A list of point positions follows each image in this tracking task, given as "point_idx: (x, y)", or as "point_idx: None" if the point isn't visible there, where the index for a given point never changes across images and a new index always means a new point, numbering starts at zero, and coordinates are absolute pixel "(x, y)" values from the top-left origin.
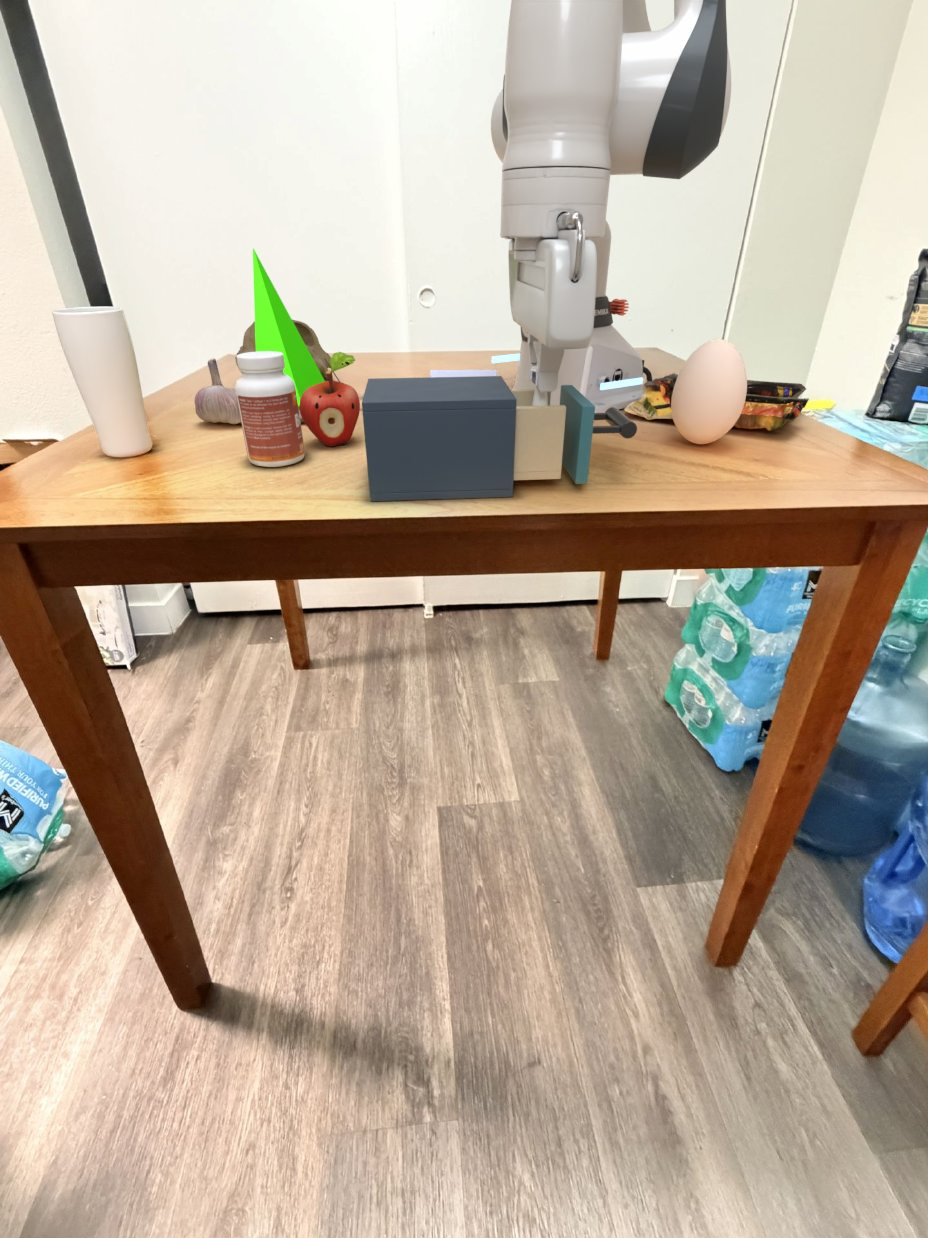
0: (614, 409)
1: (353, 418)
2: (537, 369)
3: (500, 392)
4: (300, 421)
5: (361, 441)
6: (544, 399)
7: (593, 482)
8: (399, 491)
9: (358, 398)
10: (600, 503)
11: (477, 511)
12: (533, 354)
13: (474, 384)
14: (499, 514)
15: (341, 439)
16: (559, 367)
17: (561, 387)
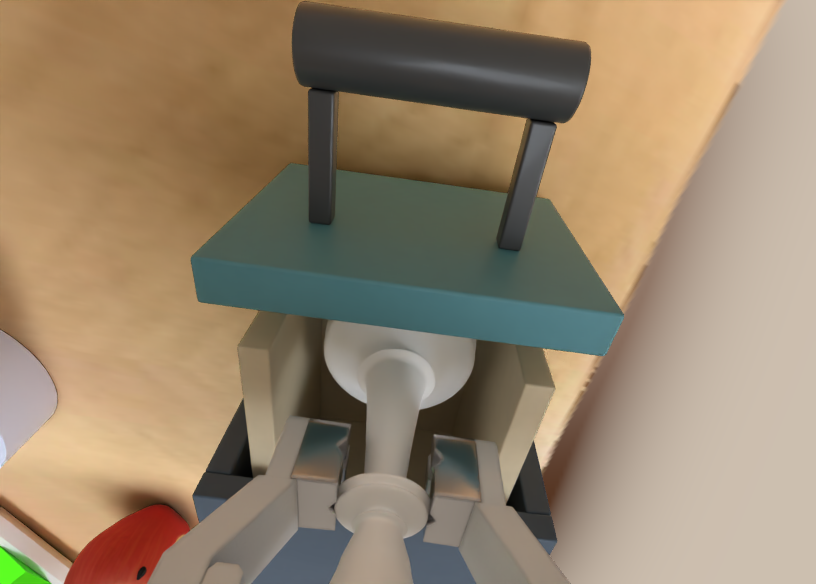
0: (342, 59)
1: (154, 547)
2: (437, 541)
3: (457, 549)
4: (44, 541)
5: (143, 485)
6: (415, 408)
7: (476, 139)
8: None
9: (106, 573)
10: (625, 184)
11: (554, 405)
12: (268, 553)
13: (329, 567)
14: (583, 381)
15: (181, 523)
16: (525, 524)
17: (218, 302)
